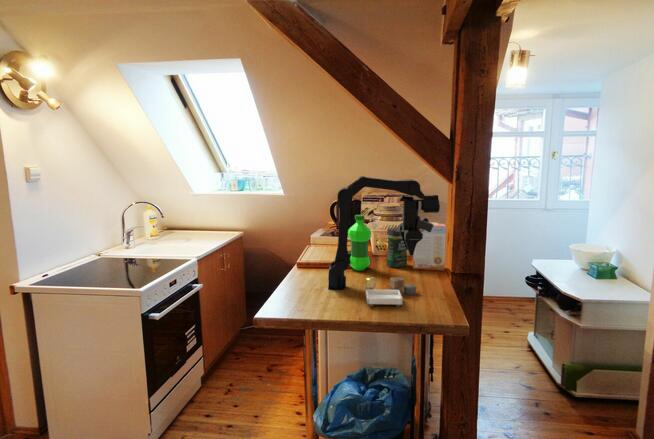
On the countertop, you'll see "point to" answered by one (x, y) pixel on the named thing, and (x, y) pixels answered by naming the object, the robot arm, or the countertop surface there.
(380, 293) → the white shallow tray
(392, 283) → the walnut block
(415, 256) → the cracker box
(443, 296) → the countertop surface
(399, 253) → the coffee jar
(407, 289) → the grey small block
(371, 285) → the small wooden cylinder
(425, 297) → the countertop surface
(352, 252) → the plastic bottle
